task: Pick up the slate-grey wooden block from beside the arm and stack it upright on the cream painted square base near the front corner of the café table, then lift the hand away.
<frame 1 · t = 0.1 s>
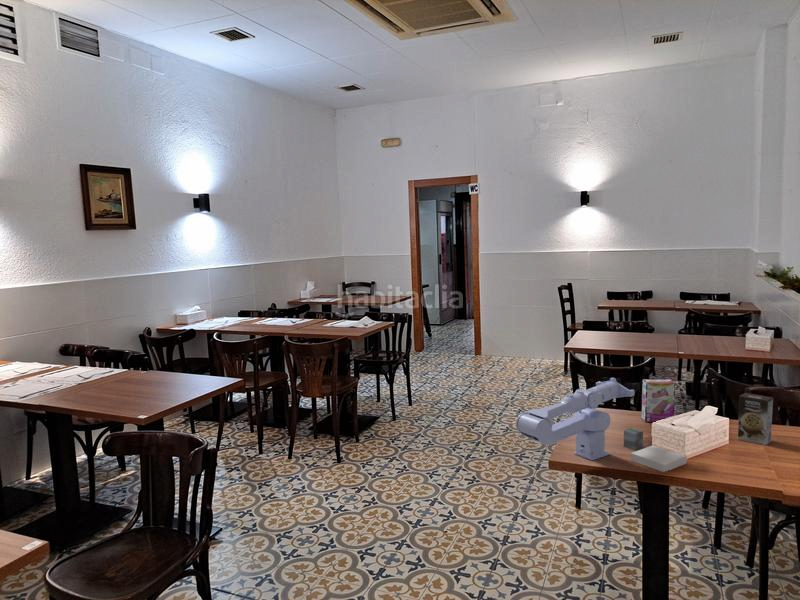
hand: (629, 383, 201), 22 cm above the table, tool horizontal, fingers open, 7 cm apart
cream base: (658, 461, 184), on the table
coffee box: (754, 440, 201), on the table
candy bar box: (657, 421, 225), on the table
grey block: (633, 447, 198), on the table
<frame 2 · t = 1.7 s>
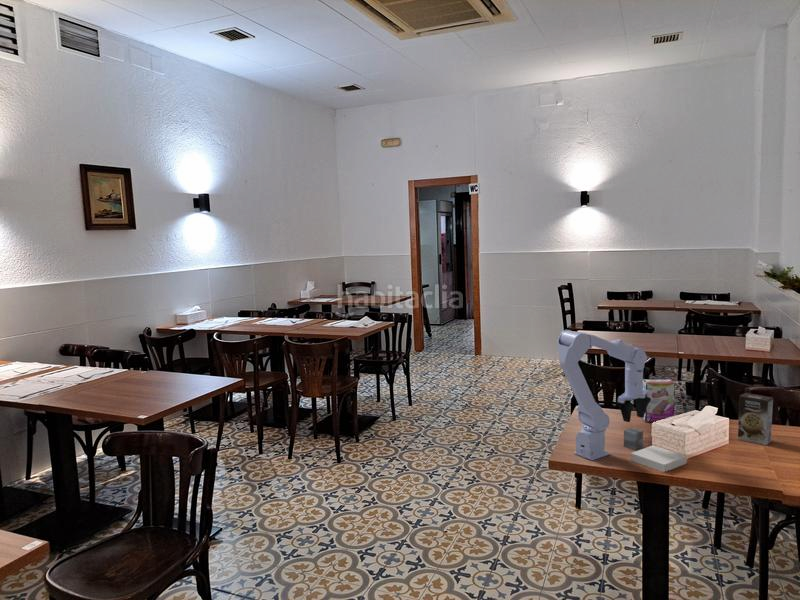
hand: (633, 419, 197), 10 cm above the table, tool pointing down, fingers open, 7 cm apart
nothing on the table moved.
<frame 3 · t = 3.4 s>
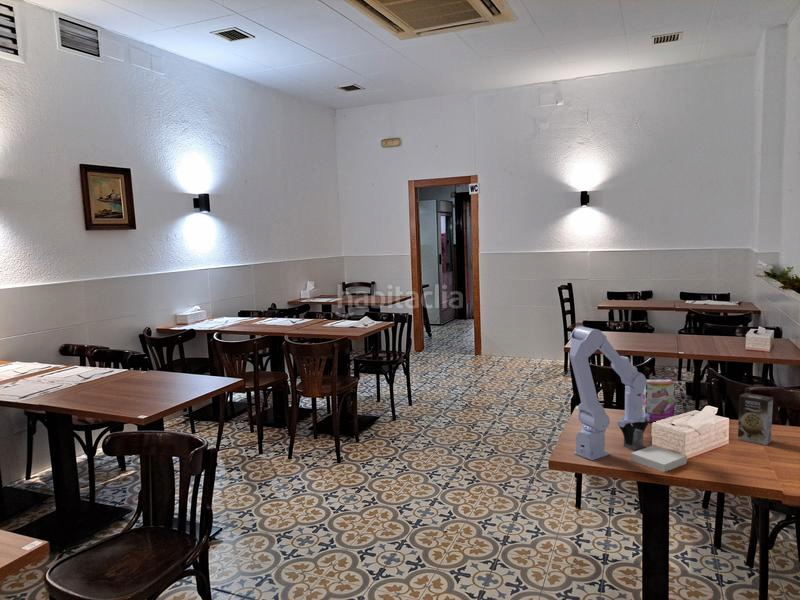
hand: (633, 442, 198), 2 cm above the table, tool pointing down, fingers closed on grey block, 4 cm apart
grey block: (633, 447, 198), on the table, touching gripper
everything else where it was.
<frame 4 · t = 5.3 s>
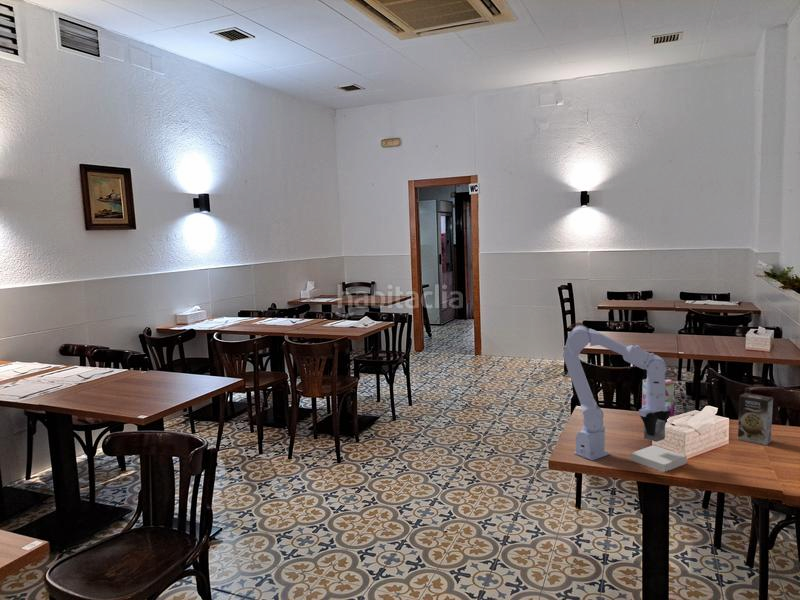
hand: (655, 433, 185), 9 cm above the table, tool pointing down, fingers closed on grey block, 4 cm apart
grey block: (654, 438, 186), point 7 cm above the table, touching gripper
everything else where it was.
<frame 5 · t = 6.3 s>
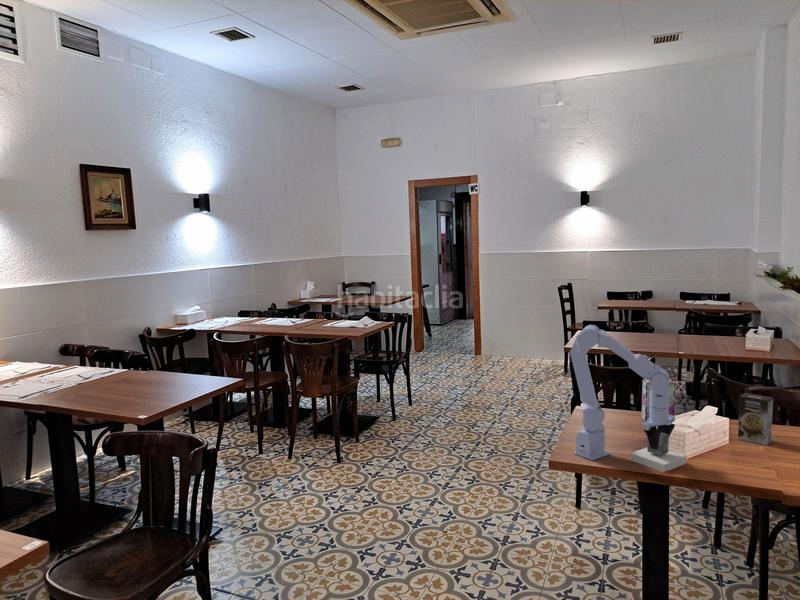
hand: (658, 446, 184), 5 cm above the table, tool pointing down, fingers closed on grey block, 4 cm apart
grey block: (657, 452, 184), point 3 cm above the table, touching gripper
everything else where it was.
when the fingers open (5 cm above the table, at t = 7.1 s): grey block stays where it is, resting on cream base.
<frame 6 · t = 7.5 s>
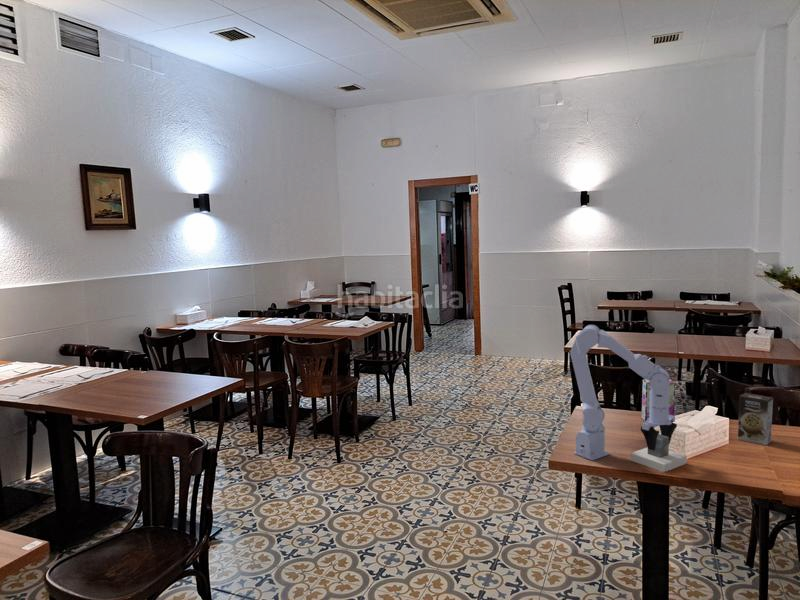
hand: (658, 446, 184), 5 cm above the table, tool pointing down, fingers open, 7 cm apart
grey block: (658, 454, 184), point 2 cm above the table, touching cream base
everything else where it was.
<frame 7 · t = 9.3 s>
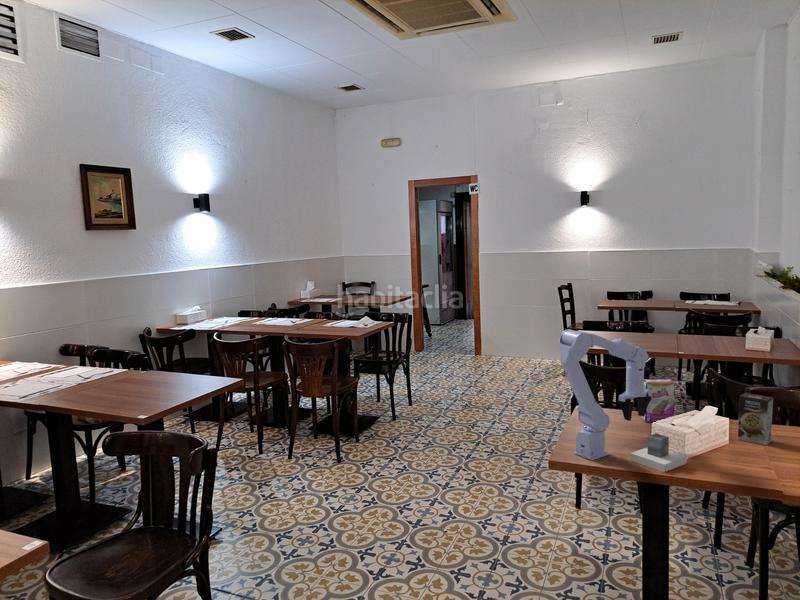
hand: (634, 417, 197), 10 cm above the table, tool pointing down, fingers open, 7 cm apart
nothing on the table moved.
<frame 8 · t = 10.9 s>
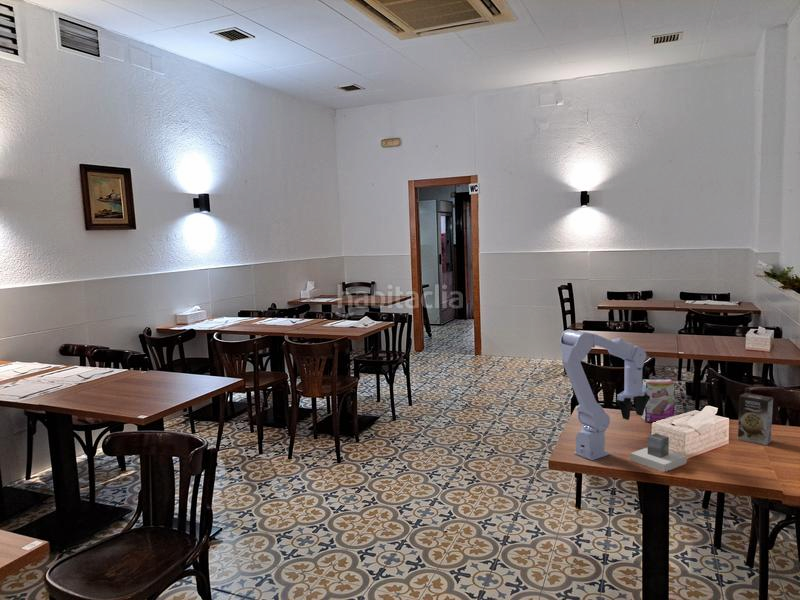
hand: (632, 417, 198), 10 cm above the table, tool pointing down, fingers open, 7 cm apart
nothing on the table moved.
at the end: grey block 0.2 cm off-centre on the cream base, point 2.5 cm above the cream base's base; grey block tilted 0°; the gripper is holding nothing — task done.
